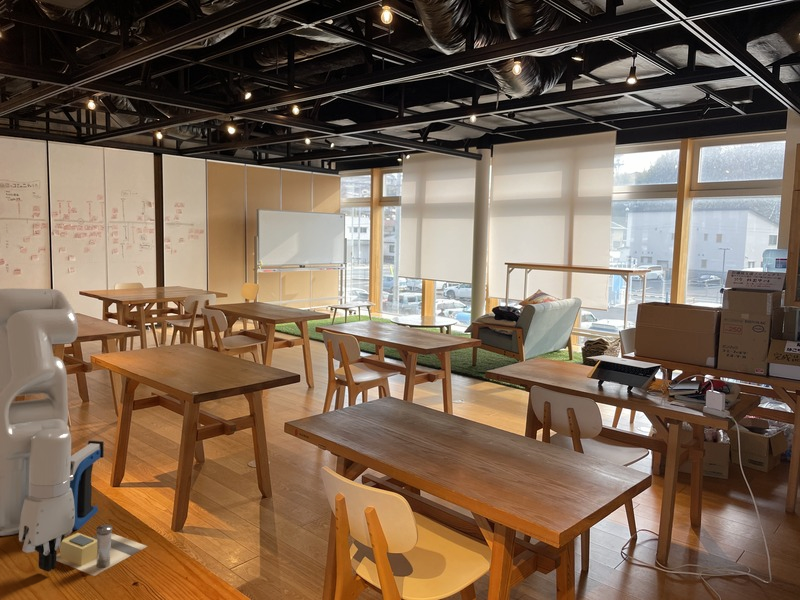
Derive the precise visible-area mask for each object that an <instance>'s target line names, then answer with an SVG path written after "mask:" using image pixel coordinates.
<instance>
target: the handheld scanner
mask: <svg viewBox="0 0 800 600" xmlns="http://www.w3.org/2000/svg"><path fill="white" fill-rule="evenodd" d="M104 445H105V444H104V441H100V440H88V442H87V445H86V446H84V447H83V448H81V449H79V450H78V451H77V452H75V453H74V454H71V467H70V475H71V474H72V475H73V477H74V479H73V480H71V481H70V488H71V489H72V493H73V498H74V507H75V521H74V527H73V528H72V531H73V530H74V531H78V530H80V529H81V528H82V527H83V526H84V525H85V524H87V522H88V521H89V520H91V519H92V517H93V516H95V515H96V513H98V512H99V506H97V505H92V491H93V490H92V489H93V488H92V487H93V486H92V474H93V473H92V472H93V467H94V463H96V462H97V461H99V459H100V458H104V457H105V454H104V453H105V451H104V449H105V447H104Z"/></svg>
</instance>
